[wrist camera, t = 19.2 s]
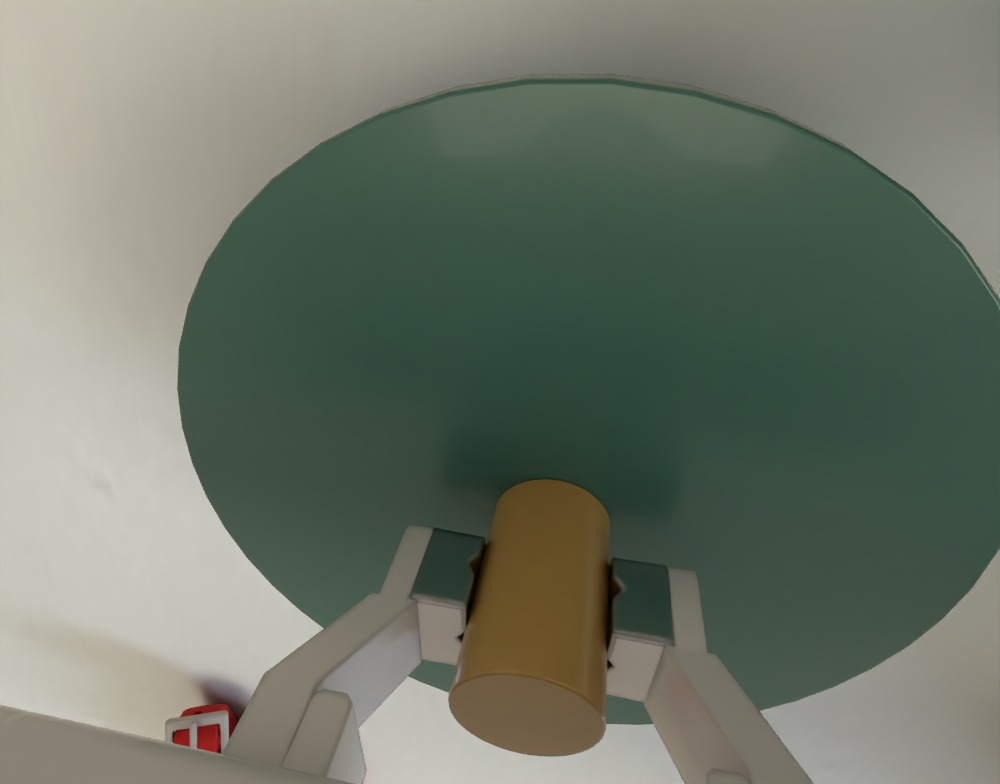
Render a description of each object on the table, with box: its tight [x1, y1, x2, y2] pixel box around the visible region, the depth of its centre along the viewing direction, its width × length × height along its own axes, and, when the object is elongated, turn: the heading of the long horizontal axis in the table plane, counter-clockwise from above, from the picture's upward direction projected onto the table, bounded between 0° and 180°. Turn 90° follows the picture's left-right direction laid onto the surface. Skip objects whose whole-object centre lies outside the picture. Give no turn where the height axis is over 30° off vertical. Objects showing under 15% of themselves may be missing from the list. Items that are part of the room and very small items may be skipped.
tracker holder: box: [165, 703, 238, 754], centre depth 32 cm, size 12×4×10 cm
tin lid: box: [177, 74, 1000, 756], centre depth 11 cm, size 16×16×5 cm
